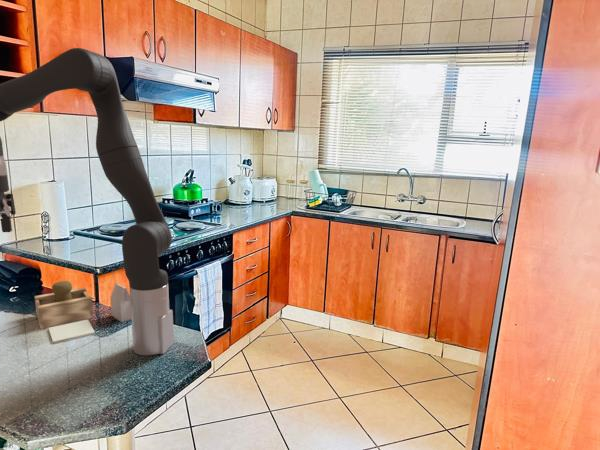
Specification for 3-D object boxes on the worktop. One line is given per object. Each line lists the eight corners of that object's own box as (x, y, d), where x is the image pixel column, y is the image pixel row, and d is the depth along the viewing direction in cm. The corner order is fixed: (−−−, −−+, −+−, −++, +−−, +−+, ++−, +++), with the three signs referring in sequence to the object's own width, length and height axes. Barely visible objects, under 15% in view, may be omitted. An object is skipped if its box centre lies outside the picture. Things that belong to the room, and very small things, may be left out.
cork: (66, 321, 120) (62, 286, 118) (48, 319, 122) (44, 284, 119) (80, 313, 126) (77, 279, 124) (63, 311, 127) (60, 278, 125)
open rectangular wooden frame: (86, 305, 132) (84, 287, 131) (93, 317, 124) (91, 297, 122) (36, 315, 124) (34, 296, 123) (40, 328, 116) (38, 308, 114)
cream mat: (87, 321, 121) (87, 319, 121) (95, 333, 113) (94, 331, 113) (48, 329, 115) (48, 327, 115) (53, 343, 107) (53, 341, 107)
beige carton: (121, 322, 121) (119, 290, 119) (111, 315, 125) (109, 284, 123) (133, 318, 124) (131, 287, 122) (123, 312, 128) (121, 281, 126)
